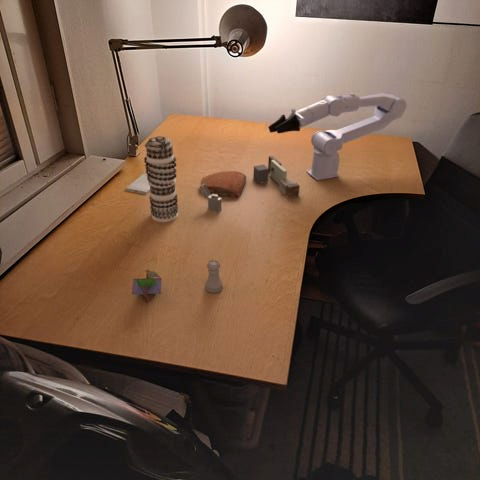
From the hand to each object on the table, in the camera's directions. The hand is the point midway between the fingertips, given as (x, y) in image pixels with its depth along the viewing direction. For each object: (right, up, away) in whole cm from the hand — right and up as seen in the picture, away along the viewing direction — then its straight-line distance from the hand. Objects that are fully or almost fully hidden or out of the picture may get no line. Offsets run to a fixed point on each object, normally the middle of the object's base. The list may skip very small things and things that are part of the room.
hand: (273, 130), depth 151 cm
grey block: (-4, -15, +13) cm, 20 cm away
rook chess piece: (-18, -49, -38) cm, 65 cm away
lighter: (-21, -27, -5) cm, 34 cm away
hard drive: (-45, -18, +8) cm, 49 cm away
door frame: (+3, -16, +11) cm, 20 cm away
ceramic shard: (-17, -19, +8) cm, 27 cm away
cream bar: (+3, -16, +11) cm, 20 cm away
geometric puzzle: (-34, -51, -41) cm, 74 cm away
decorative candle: (-35, -29, -9) cm, 47 cm away
